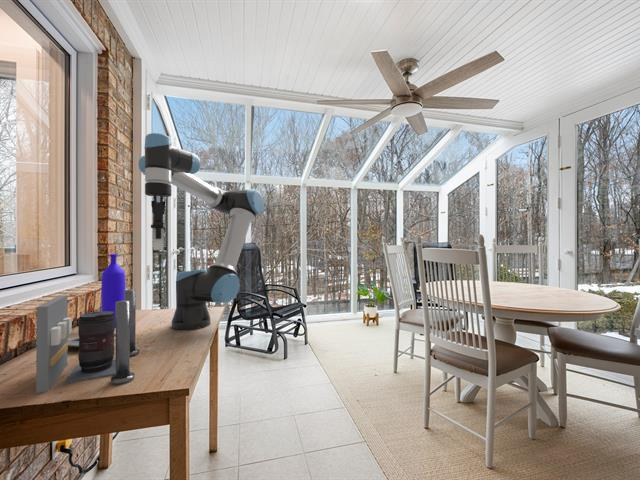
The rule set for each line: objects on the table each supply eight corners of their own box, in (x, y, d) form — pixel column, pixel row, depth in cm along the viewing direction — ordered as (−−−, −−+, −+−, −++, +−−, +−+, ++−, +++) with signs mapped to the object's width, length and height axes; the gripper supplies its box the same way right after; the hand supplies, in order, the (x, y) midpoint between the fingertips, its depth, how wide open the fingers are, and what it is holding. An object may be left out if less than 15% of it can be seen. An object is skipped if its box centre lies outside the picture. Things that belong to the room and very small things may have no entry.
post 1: (135, 374, 80) (135, 298, 80) (133, 382, 76) (133, 302, 76) (112, 378, 78) (112, 300, 78) (109, 386, 73) (109, 304, 73)
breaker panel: (73, 364, 87) (73, 294, 87) (55, 390, 72) (55, 305, 72) (58, 366, 85) (58, 295, 85) (36, 393, 70) (36, 307, 70)
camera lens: (120, 366, 84) (120, 312, 84) (86, 377, 77) (86, 318, 77) (106, 360, 88) (106, 308, 88) (73, 370, 82) (72, 314, 82)
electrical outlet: (81, 352, 95) (81, 344, 95) (55, 350, 98) (55, 342, 98) (117, 339, 108) (117, 332, 108) (93, 337, 110) (93, 331, 110)
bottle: (112, 322, 131) (112, 253, 131) (130, 323, 130) (130, 253, 130) (96, 328, 123) (96, 254, 123) (114, 328, 122) (114, 254, 122)
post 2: (139, 350, 98) (139, 288, 98) (138, 355, 93) (138, 290, 93) (121, 353, 95) (121, 289, 96) (119, 358, 91) (119, 292, 91)
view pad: (122, 360, 90) (122, 358, 90) (117, 374, 80) (117, 372, 80) (75, 367, 85) (75, 365, 85) (64, 383, 75) (64, 381, 75)
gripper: (146, 188, 107) (146, 248, 107) (142, 174, 85) (143, 250, 85) (170, 190, 110) (170, 248, 110) (172, 177, 88) (172, 250, 88)
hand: (158, 249), depth 97 cm, fingers open, 13 cm apart
